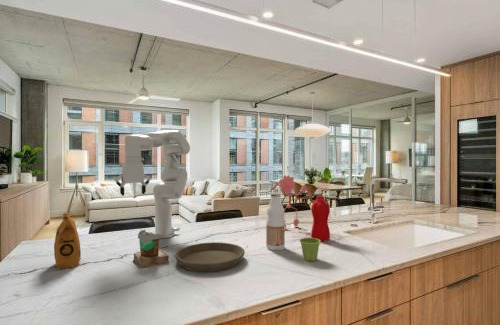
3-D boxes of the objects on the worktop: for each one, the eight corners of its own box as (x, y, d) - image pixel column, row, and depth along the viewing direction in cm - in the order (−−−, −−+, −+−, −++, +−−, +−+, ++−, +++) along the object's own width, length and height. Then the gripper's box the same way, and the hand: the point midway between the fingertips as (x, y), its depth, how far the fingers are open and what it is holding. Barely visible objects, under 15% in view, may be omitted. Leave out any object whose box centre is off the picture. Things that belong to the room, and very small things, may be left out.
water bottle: (325, 243, 158) (325, 197, 157) (308, 239, 166) (308, 195, 166) (334, 240, 164) (334, 196, 163) (318, 236, 172) (318, 194, 172)
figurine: (310, 227, 193) (309, 175, 194) (275, 231, 183) (274, 176, 184) (297, 223, 207) (296, 174, 208) (265, 227, 197) (264, 175, 198)
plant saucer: (170, 255, 140) (170, 245, 140) (231, 247, 152) (231, 238, 152) (182, 279, 111) (182, 268, 111) (255, 267, 123) (255, 257, 123)
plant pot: (308, 264, 127) (308, 244, 127) (295, 257, 135) (295, 239, 135) (324, 260, 131) (325, 241, 131) (311, 254, 140) (311, 236, 140)
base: (160, 254, 139) (160, 248, 139) (168, 262, 130) (168, 255, 130) (133, 259, 132) (133, 252, 132) (141, 267, 123) (141, 260, 123)
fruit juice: (267, 251, 145) (267, 195, 145) (265, 245, 155) (265, 192, 154) (285, 250, 146) (286, 194, 145) (283, 245, 155) (283, 192, 155)
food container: (132, 254, 131) (132, 232, 130) (144, 250, 135) (144, 229, 135) (147, 260, 123) (147, 236, 123) (160, 256, 128) (160, 233, 128)
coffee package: (52, 271, 119) (51, 217, 119) (55, 261, 130) (54, 212, 130) (80, 266, 124) (80, 215, 124) (80, 258, 135) (80, 210, 134)
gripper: (148, 160, 152) (148, 192, 152) (112, 160, 142) (112, 195, 142) (152, 160, 146) (153, 194, 146) (115, 160, 136) (115, 196, 136)
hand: (133, 194), depth 144 cm, fingers open, 9 cm apart
